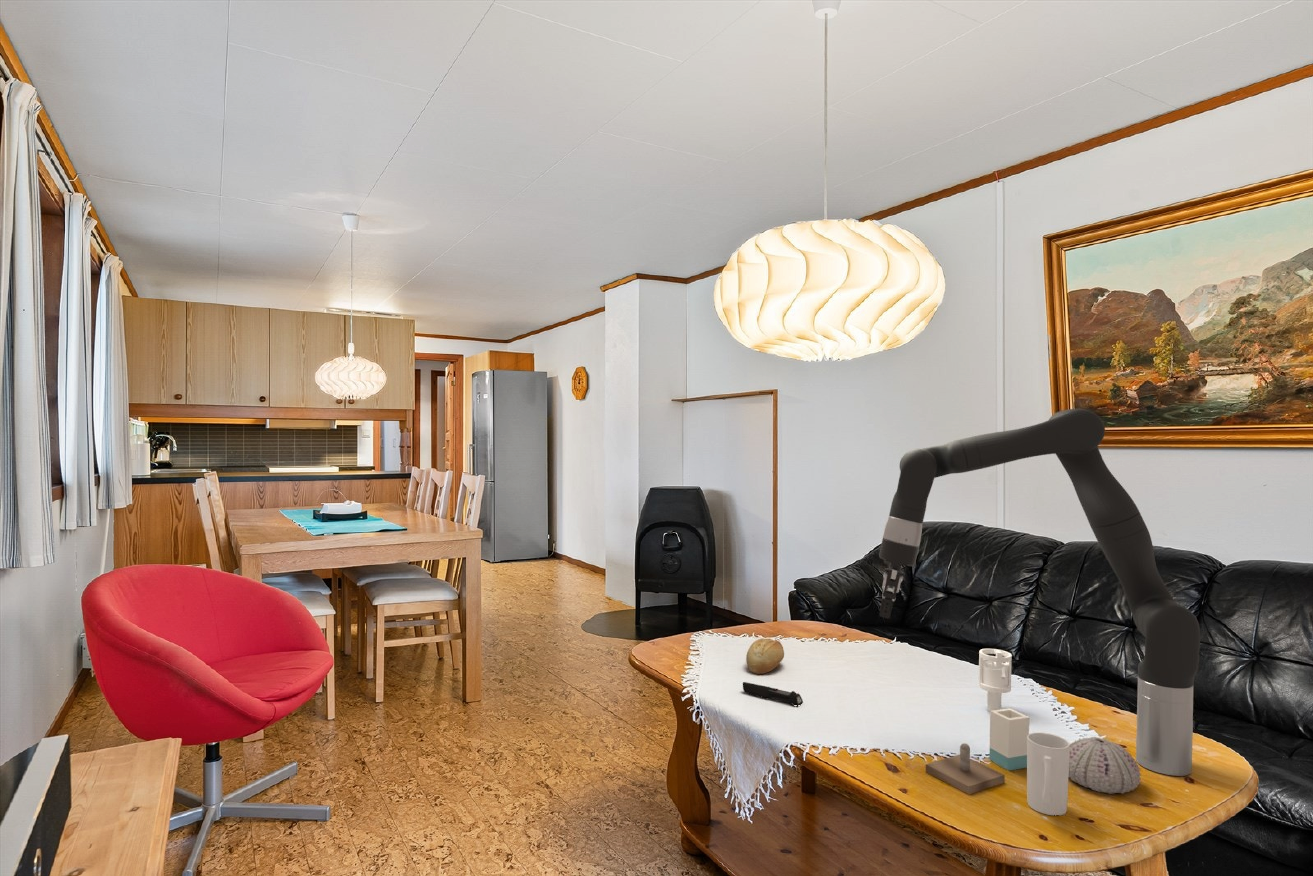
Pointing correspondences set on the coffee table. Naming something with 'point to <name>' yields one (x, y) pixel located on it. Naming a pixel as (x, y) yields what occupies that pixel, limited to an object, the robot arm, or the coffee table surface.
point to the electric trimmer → (772, 693)
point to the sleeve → (1008, 738)
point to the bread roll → (764, 655)
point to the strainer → (994, 675)
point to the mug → (1047, 773)
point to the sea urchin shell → (1102, 766)
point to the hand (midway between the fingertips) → (884, 614)
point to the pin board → (965, 772)
